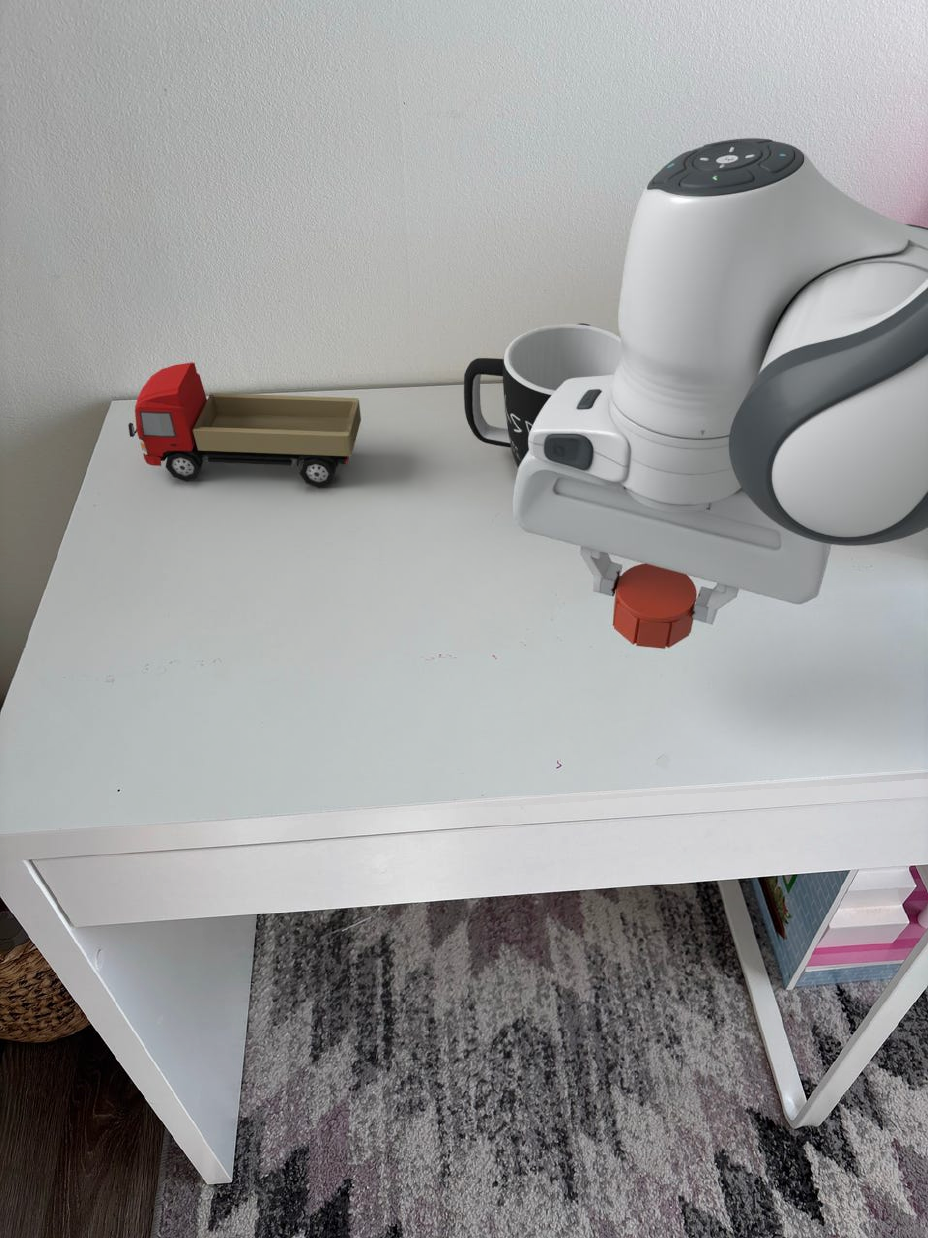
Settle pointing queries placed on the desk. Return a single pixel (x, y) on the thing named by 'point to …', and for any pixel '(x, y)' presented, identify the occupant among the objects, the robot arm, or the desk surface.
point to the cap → (654, 606)
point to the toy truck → (241, 427)
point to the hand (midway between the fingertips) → (653, 601)
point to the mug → (537, 377)
